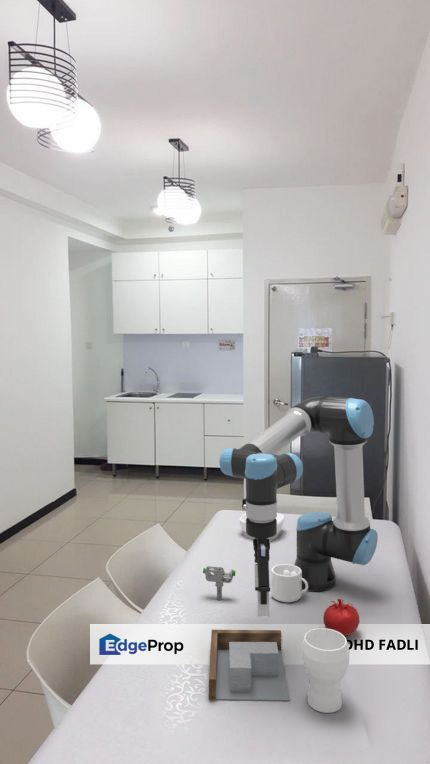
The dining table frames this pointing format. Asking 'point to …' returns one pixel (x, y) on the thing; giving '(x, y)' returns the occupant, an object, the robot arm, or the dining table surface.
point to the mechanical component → (218, 577)
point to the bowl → (280, 521)
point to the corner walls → (223, 638)
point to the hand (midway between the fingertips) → (261, 601)
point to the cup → (325, 667)
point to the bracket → (251, 663)
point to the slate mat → (259, 685)
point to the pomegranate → (341, 618)
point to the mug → (287, 582)
